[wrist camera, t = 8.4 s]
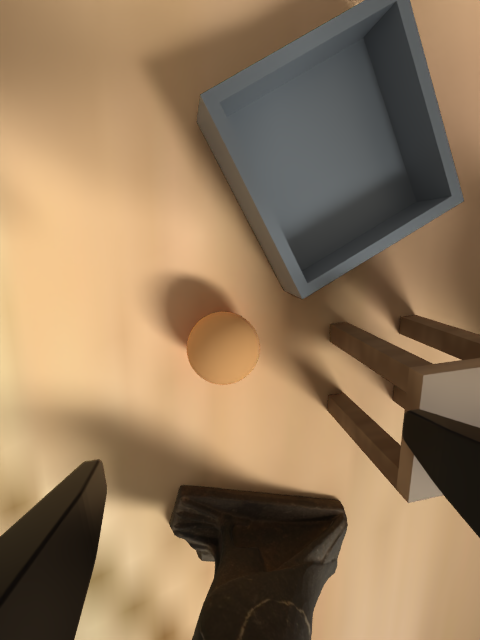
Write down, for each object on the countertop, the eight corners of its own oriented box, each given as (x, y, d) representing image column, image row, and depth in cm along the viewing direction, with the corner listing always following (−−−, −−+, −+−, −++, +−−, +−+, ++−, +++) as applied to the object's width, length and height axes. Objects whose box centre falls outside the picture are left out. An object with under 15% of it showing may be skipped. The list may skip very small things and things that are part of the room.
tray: (363, 25, 16) (403, -23, 13) (421, 206, 19) (464, 200, 16) (196, 121, 15) (200, 94, 13) (283, 290, 19) (302, 299, 16)
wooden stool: (330, 323, 20) (423, 375, 12) (416, 315, 21) (550, 357, 13) (327, 410, 21) (408, 503, 14) (407, 398, 23) (522, 477, 15)
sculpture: (182, 477, 21) (178, 831, 8) (343, 498, 24) (520, 780, 11) (162, 542, 22) (131, 946, 9) (319, 555, 25) (456, 871, 12)
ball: (230, 292, 18) (244, 306, 14) (261, 345, 19) (281, 371, 15) (173, 327, 18) (171, 350, 14) (208, 378, 19) (215, 412, 15)
